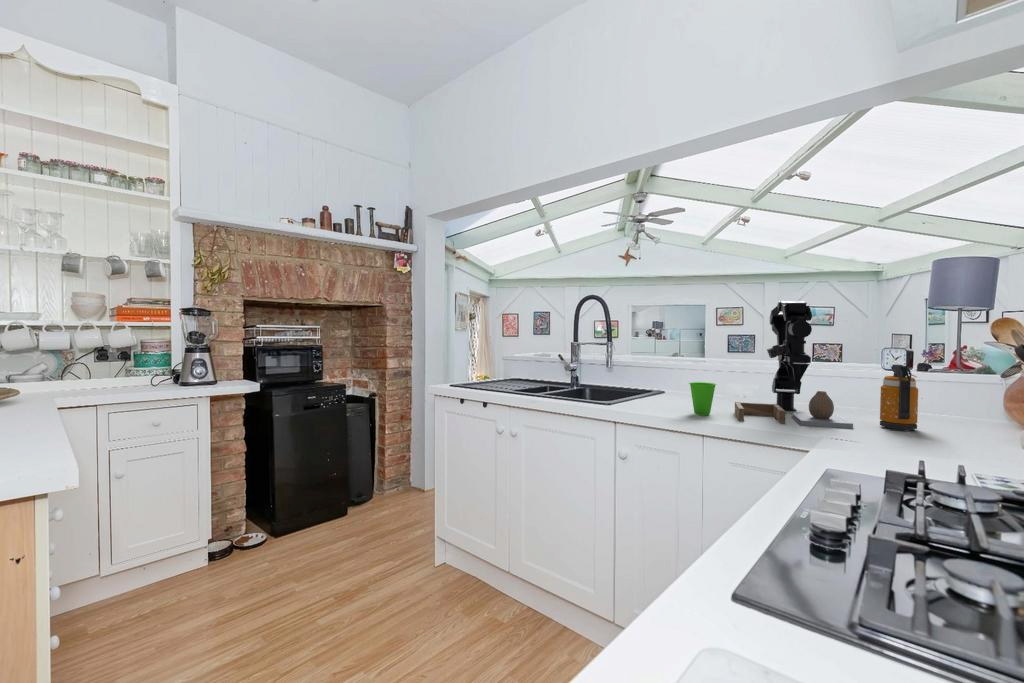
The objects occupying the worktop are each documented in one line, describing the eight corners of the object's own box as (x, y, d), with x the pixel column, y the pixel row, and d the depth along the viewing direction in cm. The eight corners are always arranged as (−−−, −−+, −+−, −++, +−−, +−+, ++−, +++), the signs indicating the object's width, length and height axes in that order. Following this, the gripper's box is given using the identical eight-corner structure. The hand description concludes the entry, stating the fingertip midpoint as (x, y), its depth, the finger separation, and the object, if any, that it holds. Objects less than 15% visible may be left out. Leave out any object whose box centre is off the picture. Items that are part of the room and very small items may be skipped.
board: (791, 417, 164) (791, 413, 164) (839, 420, 159) (839, 415, 159) (800, 425, 151) (800, 420, 151) (853, 428, 146) (853, 423, 146)
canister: (911, 427, 148) (913, 363, 148) (924, 434, 138) (926, 366, 138) (876, 424, 152) (877, 362, 152) (886, 431, 142) (888, 364, 141)
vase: (830, 416, 157) (830, 390, 157) (836, 420, 150) (837, 393, 150) (806, 415, 159) (806, 389, 159) (811, 419, 153) (812, 392, 152)
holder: (734, 412, 172) (734, 402, 172) (777, 415, 167) (777, 404, 167) (738, 420, 158) (739, 408, 158) (785, 423, 153) (785, 411, 153)
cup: (711, 412, 173) (711, 382, 173) (719, 416, 164) (719, 385, 164) (685, 411, 174) (686, 381, 174) (692, 416, 165) (693, 384, 165)
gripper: (765, 336, 177) (764, 378, 178) (773, 337, 160) (772, 383, 160) (799, 337, 173) (798, 379, 174) (811, 338, 156) (810, 385, 156)
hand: (794, 382), depth 166 cm, fingers open, 9 cm apart
